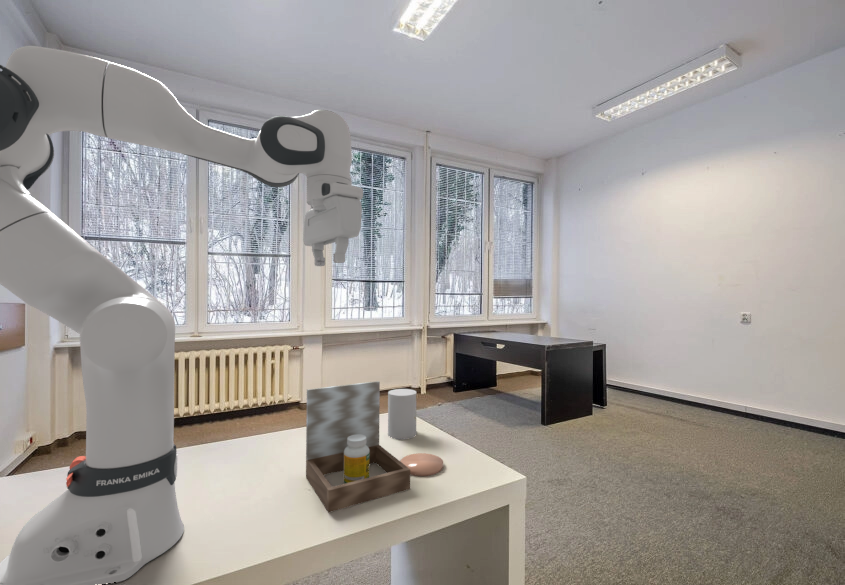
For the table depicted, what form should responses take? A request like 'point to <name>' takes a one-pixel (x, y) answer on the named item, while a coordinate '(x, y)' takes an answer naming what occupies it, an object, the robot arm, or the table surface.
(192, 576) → the table surface
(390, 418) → the white cylinder
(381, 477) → the hinged wooden box
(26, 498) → the table surface
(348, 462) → the supplement bottle
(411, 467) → the pink flat disc
